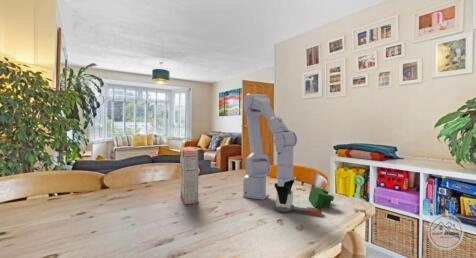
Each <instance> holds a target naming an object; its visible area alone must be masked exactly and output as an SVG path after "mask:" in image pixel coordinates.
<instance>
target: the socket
mask: <svg viewBox="0 0 476 258" xmlns="http://www.w3.org/2000/svg"><path fill="white" fill-rule="evenodd" d="M293 200H294V191H293V190H291V191H289V192H288V196H287V202H286V204H280V202H279V197H278V193H277V192H276V203H275V204H276V207H282V208H291V207H292V205H294V204H293V203H294V201H293Z"/></svg>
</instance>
